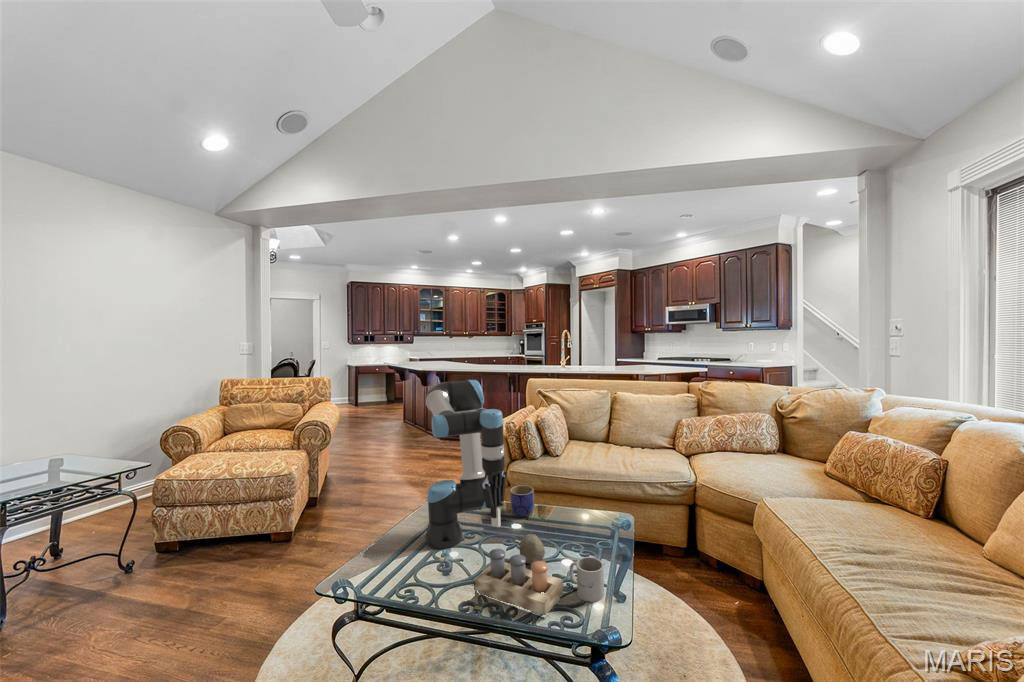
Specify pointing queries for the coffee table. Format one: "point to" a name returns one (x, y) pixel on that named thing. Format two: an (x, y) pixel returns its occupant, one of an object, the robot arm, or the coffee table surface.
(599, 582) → the mug
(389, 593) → the coffee table surface
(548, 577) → the block
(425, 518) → the coffee table surface
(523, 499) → the planter
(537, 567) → the terracotta plug
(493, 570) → the slate plug
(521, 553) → the decorative stone
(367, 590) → the coffee table surface
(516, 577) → the slate plug
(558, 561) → the coffee table surface
